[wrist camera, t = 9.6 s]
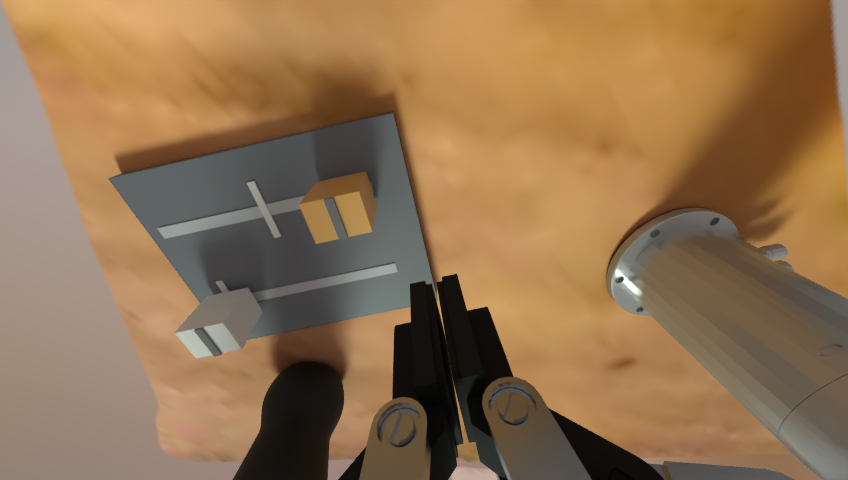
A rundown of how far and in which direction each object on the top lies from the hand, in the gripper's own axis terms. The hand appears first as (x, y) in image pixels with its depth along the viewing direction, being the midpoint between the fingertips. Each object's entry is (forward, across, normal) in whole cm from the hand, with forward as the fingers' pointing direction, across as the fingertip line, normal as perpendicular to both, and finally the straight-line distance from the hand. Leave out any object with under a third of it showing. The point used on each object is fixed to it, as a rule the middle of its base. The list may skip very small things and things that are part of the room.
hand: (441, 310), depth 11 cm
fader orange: (+15, +6, 0) cm, 16 cm away
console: (+17, +12, +4) cm, 21 cm away
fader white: (+15, +19, +8) cm, 26 cm away
